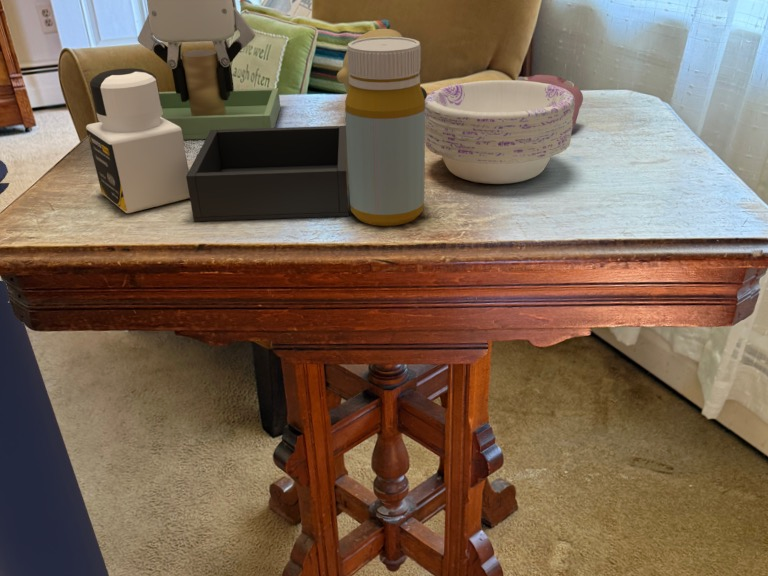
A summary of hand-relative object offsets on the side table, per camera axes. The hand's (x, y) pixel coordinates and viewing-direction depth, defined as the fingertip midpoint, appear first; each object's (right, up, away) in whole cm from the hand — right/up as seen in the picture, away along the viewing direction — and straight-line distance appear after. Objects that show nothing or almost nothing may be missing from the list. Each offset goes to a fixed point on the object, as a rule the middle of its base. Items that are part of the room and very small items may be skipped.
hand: (206, 96), depth 97 cm
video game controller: (+42, -5, -2) cm, 43 cm away
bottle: (+23, -21, -25) cm, 40 cm away
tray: (0, -3, +2) cm, 3 cm away
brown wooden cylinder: (0, -2, +2) cm, 3 cm away
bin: (+12, -17, -19) cm, 28 cm away
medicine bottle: (-1, -18, -20) cm, 27 cm away
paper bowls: (+35, -14, -16) cm, 41 cm away
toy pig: (+23, -2, +3) cm, 23 cm away
